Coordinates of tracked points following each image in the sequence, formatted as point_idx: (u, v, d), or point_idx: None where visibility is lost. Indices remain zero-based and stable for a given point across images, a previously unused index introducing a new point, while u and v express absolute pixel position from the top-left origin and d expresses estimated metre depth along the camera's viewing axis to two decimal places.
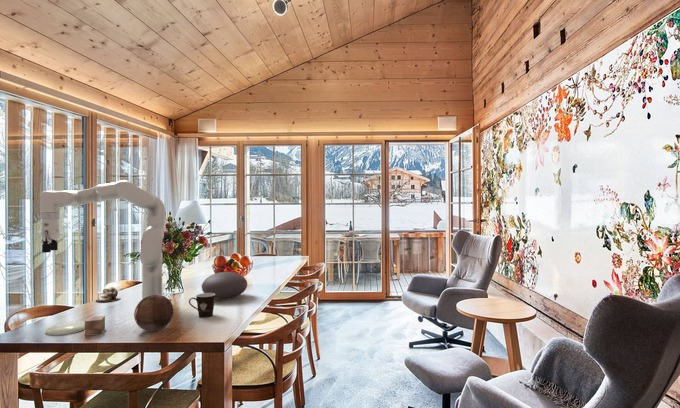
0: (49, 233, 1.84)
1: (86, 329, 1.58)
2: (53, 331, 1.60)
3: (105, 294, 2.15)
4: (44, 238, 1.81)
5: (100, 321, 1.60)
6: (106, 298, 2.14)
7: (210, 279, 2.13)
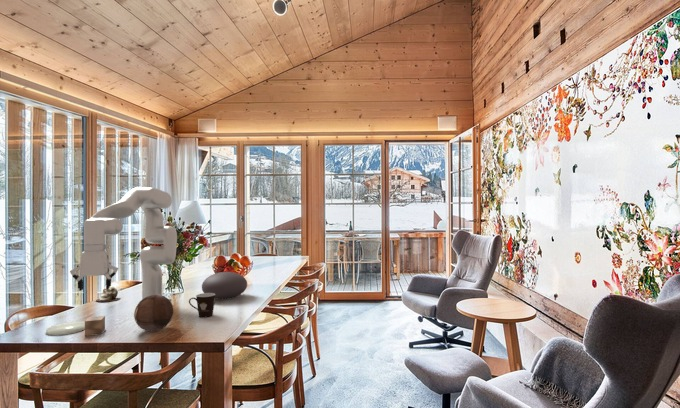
0: None
1: (86, 329, 1.58)
2: (53, 331, 1.60)
3: (105, 294, 2.15)
4: None
5: (100, 321, 1.60)
6: (106, 298, 2.15)
7: (210, 279, 2.13)
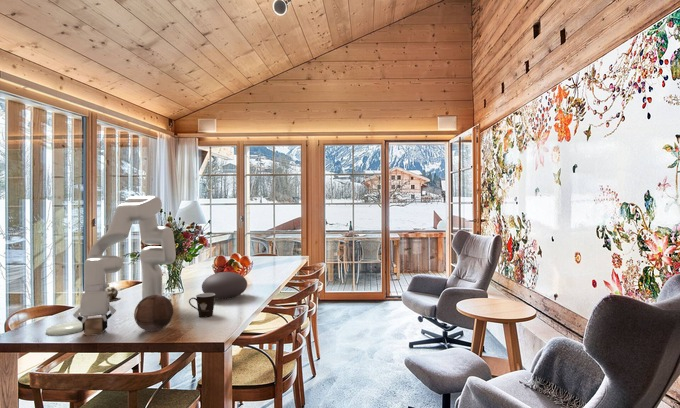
0: None
1: (86, 329, 1.58)
2: (53, 331, 1.60)
3: None
4: None
5: (100, 321, 1.60)
6: None
7: (210, 279, 2.13)
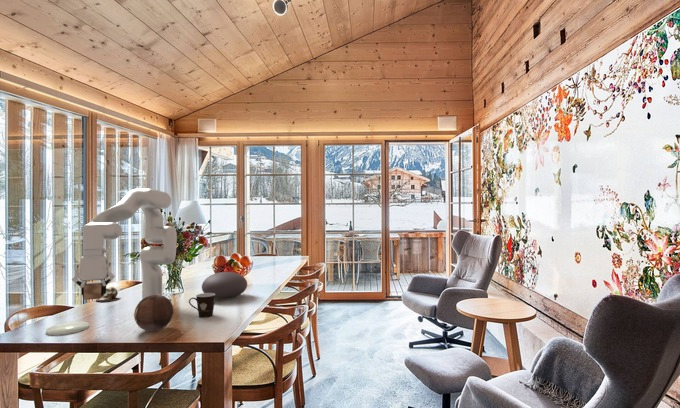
0: None
1: (85, 293, 1.58)
2: (53, 331, 1.60)
3: (105, 294, 2.16)
4: None
5: (99, 285, 1.60)
6: (106, 298, 2.15)
7: (210, 279, 2.13)
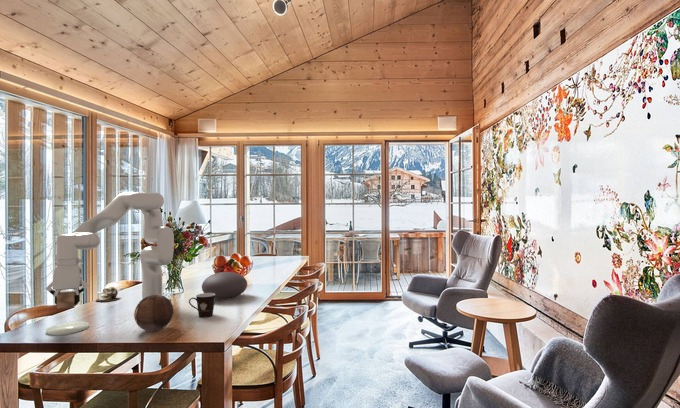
0: None
1: (58, 302, 1.62)
2: (53, 331, 1.60)
3: (105, 294, 2.16)
4: None
5: (72, 294, 1.64)
6: (106, 298, 2.15)
7: (210, 279, 2.13)
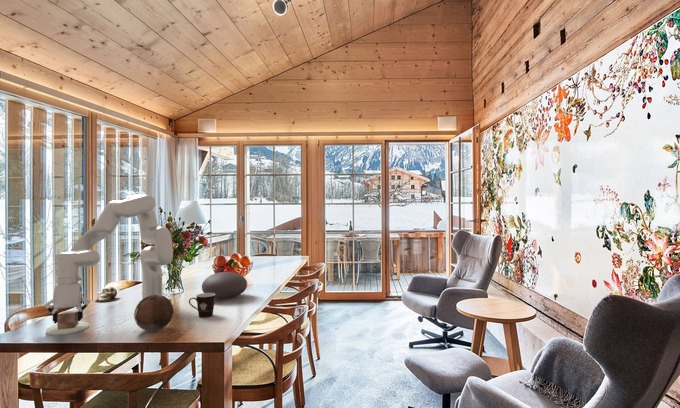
0: None
1: (59, 323, 1.62)
2: (53, 331, 1.60)
3: (104, 294, 2.15)
4: None
5: (73, 315, 1.64)
6: (105, 298, 2.15)
7: (210, 279, 2.13)
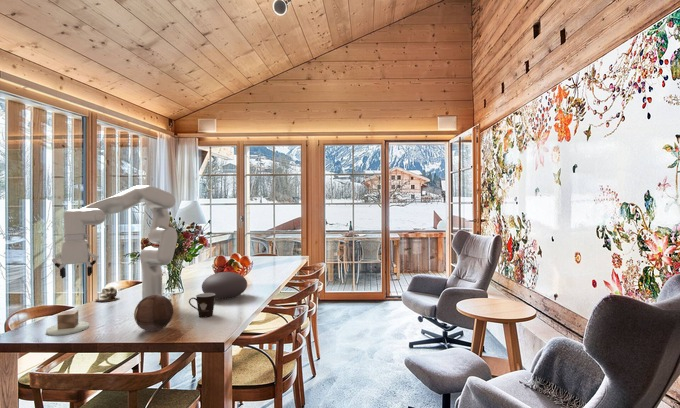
0: None
1: (59, 323, 1.62)
2: (53, 331, 1.60)
3: (104, 294, 2.15)
4: None
5: (73, 315, 1.64)
6: (105, 298, 2.15)
7: (210, 279, 2.13)
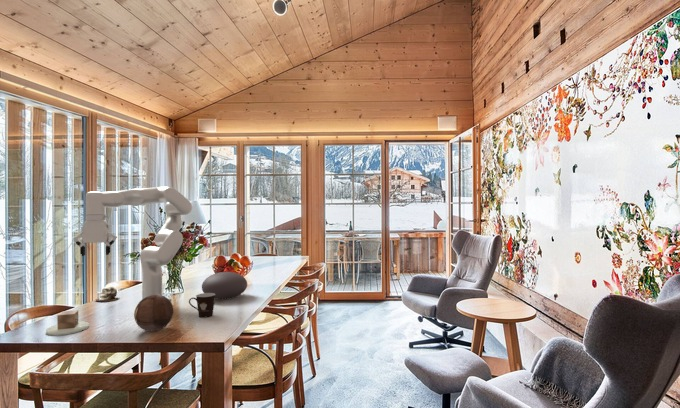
0: None
1: (59, 323, 1.62)
2: (53, 331, 1.60)
3: (104, 294, 2.16)
4: None
5: (73, 315, 1.64)
6: (105, 298, 2.15)
7: (210, 279, 2.13)
